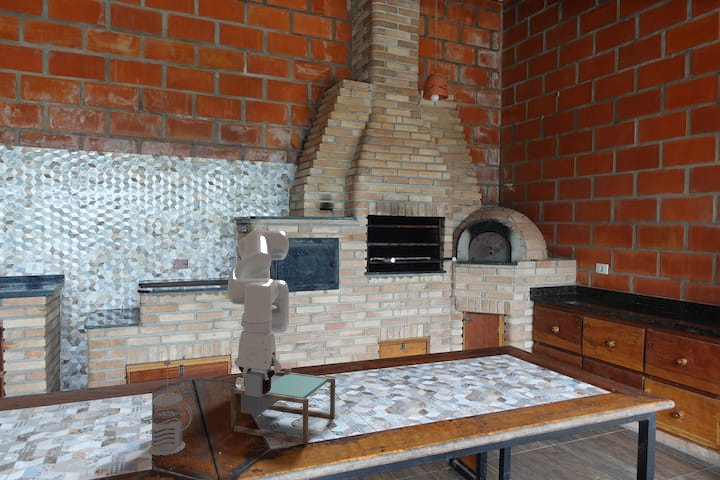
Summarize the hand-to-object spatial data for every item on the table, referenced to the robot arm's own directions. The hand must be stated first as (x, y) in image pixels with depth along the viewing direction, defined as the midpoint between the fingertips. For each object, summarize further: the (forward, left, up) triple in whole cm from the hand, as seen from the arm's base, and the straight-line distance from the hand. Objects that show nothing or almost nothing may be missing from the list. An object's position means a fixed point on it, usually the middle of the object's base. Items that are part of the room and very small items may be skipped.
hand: (257, 390), depth 134 cm
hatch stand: (-1, +19, -17) cm, 25 cm away
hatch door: (-1, +19, -12) cm, 22 cm away
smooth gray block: (0, 0, -1) cm, 1 cm away
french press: (-24, -7, -17) cm, 30 cm away
